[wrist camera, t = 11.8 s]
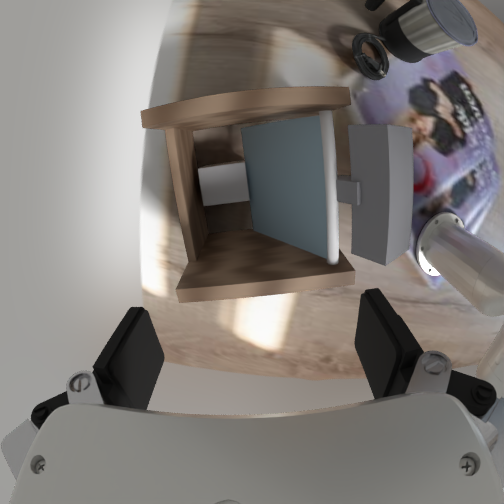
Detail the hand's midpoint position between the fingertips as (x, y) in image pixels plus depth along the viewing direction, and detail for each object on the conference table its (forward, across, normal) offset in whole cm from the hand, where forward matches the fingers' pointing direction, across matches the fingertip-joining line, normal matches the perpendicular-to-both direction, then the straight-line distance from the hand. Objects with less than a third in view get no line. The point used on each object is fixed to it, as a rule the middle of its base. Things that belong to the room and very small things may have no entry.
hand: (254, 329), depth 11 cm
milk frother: (+31, -24, -24) cm, 46 cm away
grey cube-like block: (+28, +1, -3) cm, 28 cm away
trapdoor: (+22, -10, -3) cm, 24 cm away
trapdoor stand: (+30, 0, -3) cm, 30 cm away
